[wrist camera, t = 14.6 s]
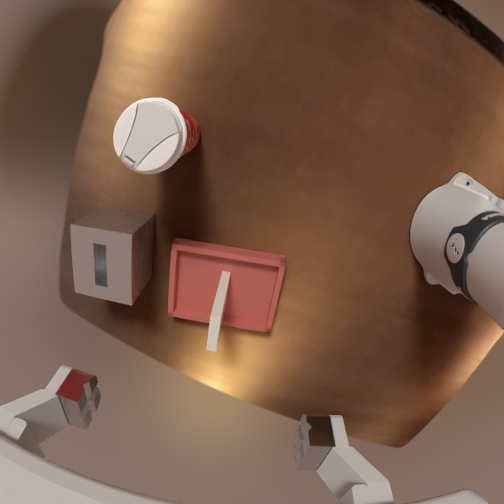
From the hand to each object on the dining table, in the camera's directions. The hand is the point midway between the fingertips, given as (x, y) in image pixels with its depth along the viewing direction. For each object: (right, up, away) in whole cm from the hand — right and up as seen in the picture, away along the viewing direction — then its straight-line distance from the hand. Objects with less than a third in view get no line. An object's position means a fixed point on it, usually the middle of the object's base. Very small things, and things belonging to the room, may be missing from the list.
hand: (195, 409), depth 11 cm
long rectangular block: (-2, +1, +36) cm, 37 cm away
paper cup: (-7, +22, +30) cm, 38 cm away
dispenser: (-17, +7, +35) cm, 40 cm away
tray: (-2, +1, +37) cm, 37 cm away
